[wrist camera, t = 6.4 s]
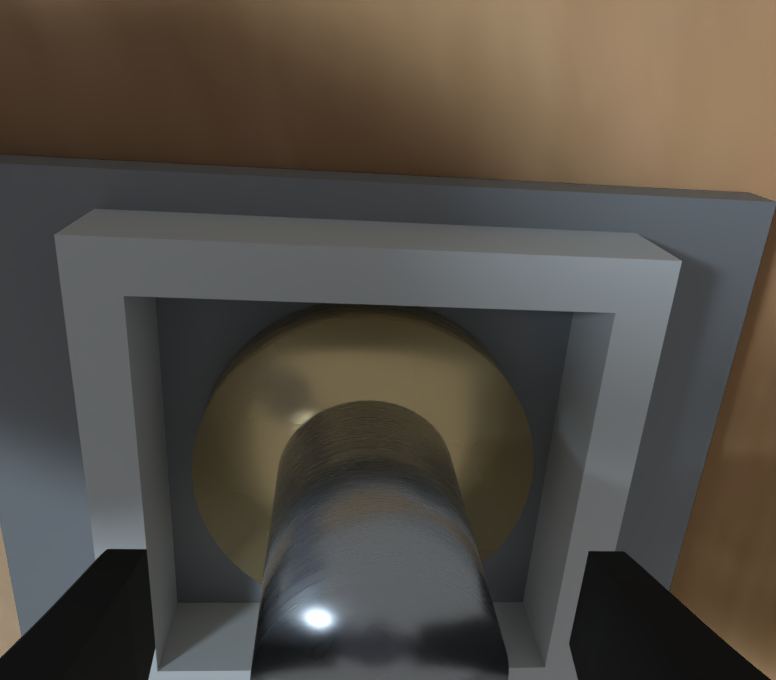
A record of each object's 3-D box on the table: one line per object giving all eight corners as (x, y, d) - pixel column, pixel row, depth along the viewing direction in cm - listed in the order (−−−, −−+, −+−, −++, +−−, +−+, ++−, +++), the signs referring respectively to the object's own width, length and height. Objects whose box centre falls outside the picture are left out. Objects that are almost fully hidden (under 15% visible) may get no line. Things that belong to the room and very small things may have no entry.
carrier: (68, 783, 20) (26, 899, 17) (-40, 152, 13) (-139, 179, 11) (599, 771, 22) (637, 877, 19) (749, 192, 15) (844, 225, 12)
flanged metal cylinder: (206, 570, 16) (137, 852, 11) (197, 289, 14) (98, 461, 8) (497, 574, 17) (579, 839, 11) (542, 306, 14) (681, 475, 9)
